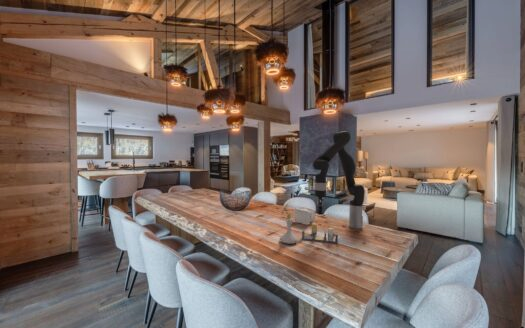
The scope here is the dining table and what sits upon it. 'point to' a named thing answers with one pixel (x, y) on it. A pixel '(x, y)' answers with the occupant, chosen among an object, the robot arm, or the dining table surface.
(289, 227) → the white tapered rounded piece
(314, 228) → the plug mustard
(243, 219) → the dining table surface
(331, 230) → the plug white
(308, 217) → the cable organizer
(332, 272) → the dining table surface
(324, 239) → the grey compartment rack
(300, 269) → the dining table surface
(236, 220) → the dining table surface
